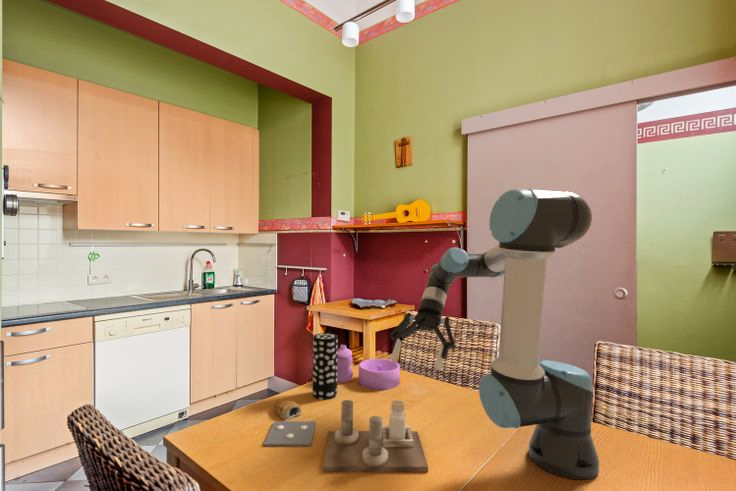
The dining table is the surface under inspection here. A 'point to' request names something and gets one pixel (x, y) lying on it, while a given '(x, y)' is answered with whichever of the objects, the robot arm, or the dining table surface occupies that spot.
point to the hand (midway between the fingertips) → (414, 364)
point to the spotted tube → (325, 366)
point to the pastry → (287, 409)
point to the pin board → (356, 453)
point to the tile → (291, 433)
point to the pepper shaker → (397, 421)
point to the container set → (368, 371)
